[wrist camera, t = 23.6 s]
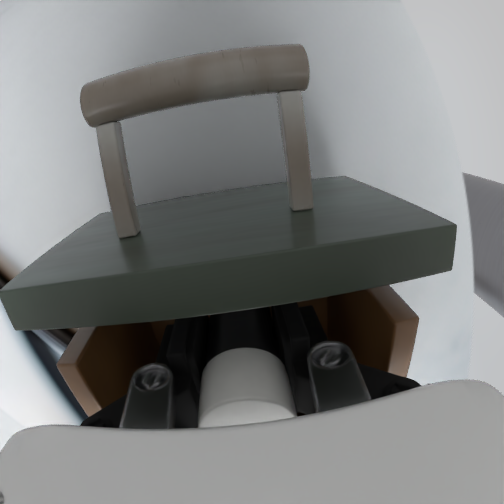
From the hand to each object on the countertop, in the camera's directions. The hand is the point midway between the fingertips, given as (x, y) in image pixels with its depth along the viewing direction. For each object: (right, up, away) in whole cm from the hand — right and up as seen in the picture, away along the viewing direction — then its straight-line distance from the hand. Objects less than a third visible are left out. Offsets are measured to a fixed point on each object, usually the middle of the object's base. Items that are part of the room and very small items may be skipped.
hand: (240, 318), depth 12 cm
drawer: (0, +1, +3) cm, 3 cm away
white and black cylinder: (0, 0, +1) cm, 1 cm away
